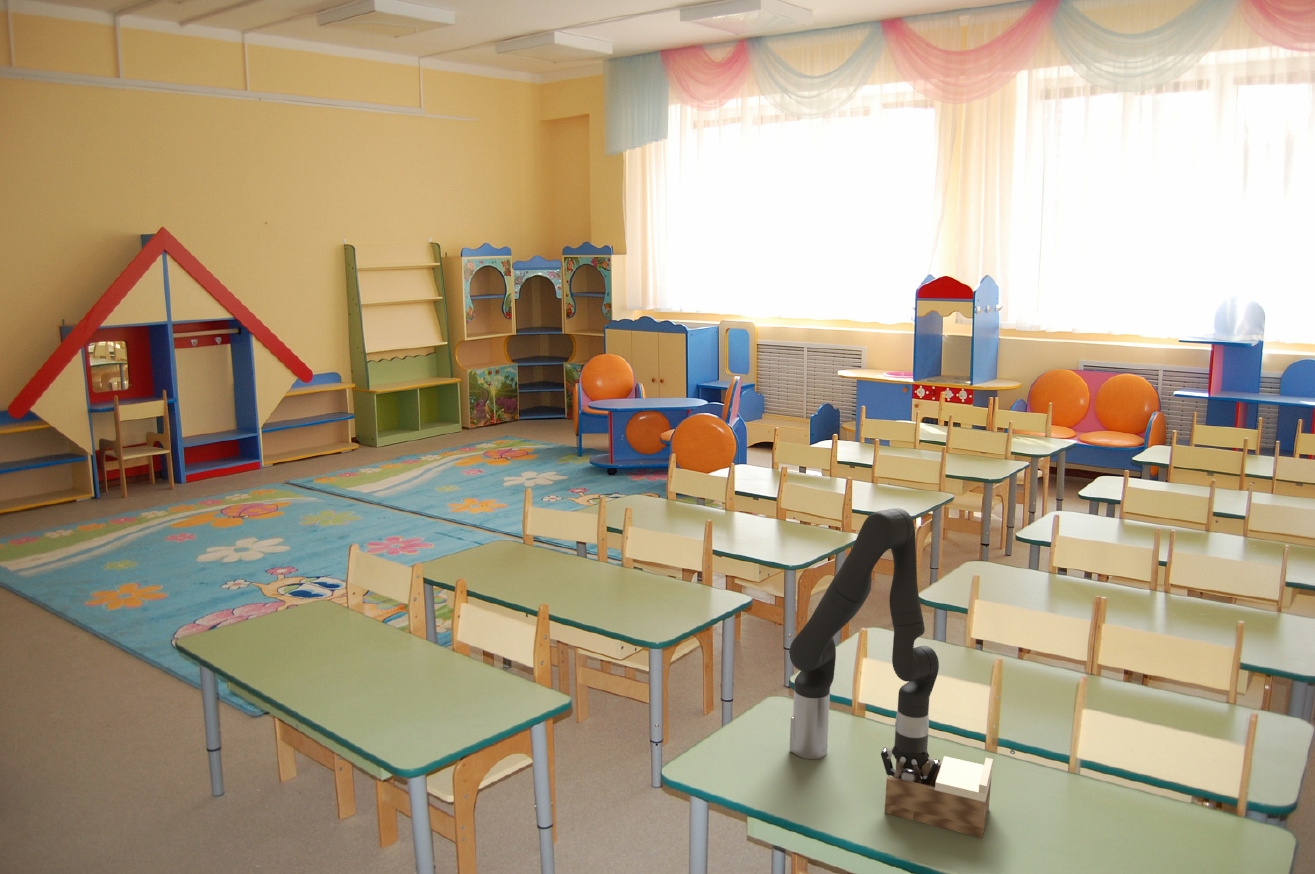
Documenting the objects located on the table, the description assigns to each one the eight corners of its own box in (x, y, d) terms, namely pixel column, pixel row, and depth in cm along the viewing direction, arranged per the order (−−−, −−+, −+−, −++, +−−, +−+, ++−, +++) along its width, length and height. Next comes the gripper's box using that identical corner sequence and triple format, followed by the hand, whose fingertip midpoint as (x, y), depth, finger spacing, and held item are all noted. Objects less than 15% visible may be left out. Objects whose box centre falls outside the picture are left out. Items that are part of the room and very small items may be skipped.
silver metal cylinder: (901, 790, 231) (902, 764, 230) (917, 794, 230) (919, 768, 228) (897, 799, 228) (899, 772, 226) (914, 803, 226) (916, 776, 225)
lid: (934, 790, 219) (936, 774, 218) (943, 763, 230) (944, 748, 229) (985, 802, 214) (986, 786, 213) (991, 774, 225) (993, 759, 224)
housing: (884, 813, 225) (886, 778, 223) (895, 786, 236) (897, 753, 234) (982, 837, 216) (985, 802, 214) (988, 808, 227) (991, 774, 225)
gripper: (945, 727, 225) (941, 793, 229) (884, 715, 231) (881, 779, 235) (940, 742, 219) (935, 810, 222) (878, 729, 225) (874, 795, 228)
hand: (907, 793), depth 229 cm, fingers closed on silver metal cylinder, 4 cm apart
